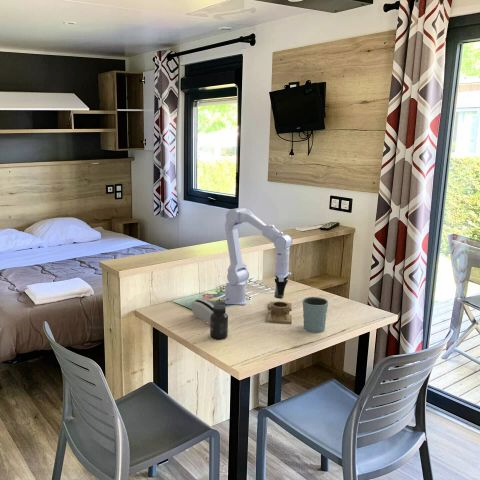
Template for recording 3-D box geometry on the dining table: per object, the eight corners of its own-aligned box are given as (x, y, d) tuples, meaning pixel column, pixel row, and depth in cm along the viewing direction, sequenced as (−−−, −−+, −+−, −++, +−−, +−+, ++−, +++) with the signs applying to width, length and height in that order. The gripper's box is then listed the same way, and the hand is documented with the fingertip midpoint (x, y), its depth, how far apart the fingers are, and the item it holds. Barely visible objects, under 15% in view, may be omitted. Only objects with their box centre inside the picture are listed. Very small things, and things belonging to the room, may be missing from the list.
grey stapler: (226, 324, 201) (220, 304, 197) (217, 330, 199) (211, 310, 195) (202, 312, 214) (196, 293, 210) (194, 318, 211) (187, 299, 207)
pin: (272, 298, 212) (275, 280, 210) (273, 294, 217) (275, 277, 215) (284, 299, 211) (287, 282, 210) (284, 296, 216) (287, 279, 215)
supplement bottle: (207, 334, 191) (207, 305, 188) (222, 331, 194) (223, 303, 191) (214, 341, 185) (215, 311, 182) (230, 338, 188) (231, 308, 186)
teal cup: (331, 331, 198) (333, 303, 195) (310, 335, 193) (312, 306, 190) (316, 322, 206) (318, 295, 204) (296, 326, 202) (297, 298, 199)
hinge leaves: (267, 322, 205) (267, 313, 204) (269, 303, 227) (270, 295, 226) (291, 323, 204) (291, 314, 203) (291, 305, 226) (291, 296, 225)
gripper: (291, 267, 203) (289, 298, 206) (291, 258, 217) (290, 288, 220) (274, 266, 204) (273, 297, 207) (275, 258, 218) (274, 287, 221)
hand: (280, 292), depth 214 cm, fingers closed on pin, 5 cm apart
